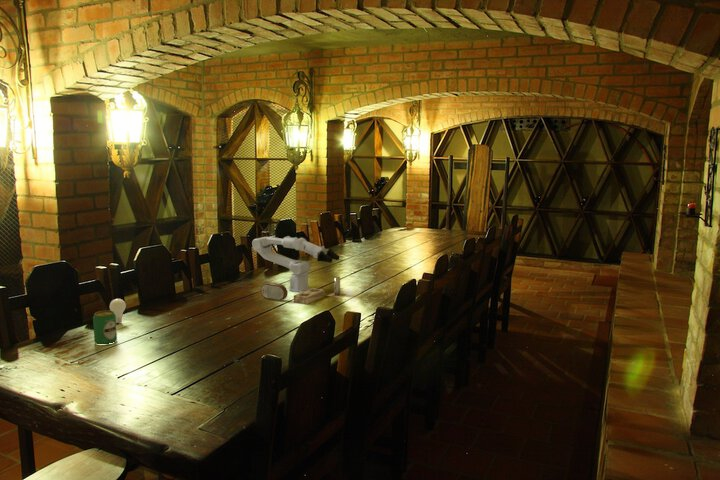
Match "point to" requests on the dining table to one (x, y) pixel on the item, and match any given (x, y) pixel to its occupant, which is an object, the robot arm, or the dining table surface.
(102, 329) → the beverage can
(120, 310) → the lightbulb
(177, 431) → the dining table surface
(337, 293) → the pin
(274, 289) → the tin
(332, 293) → the cork coaster
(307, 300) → the wooden rectangular frame
